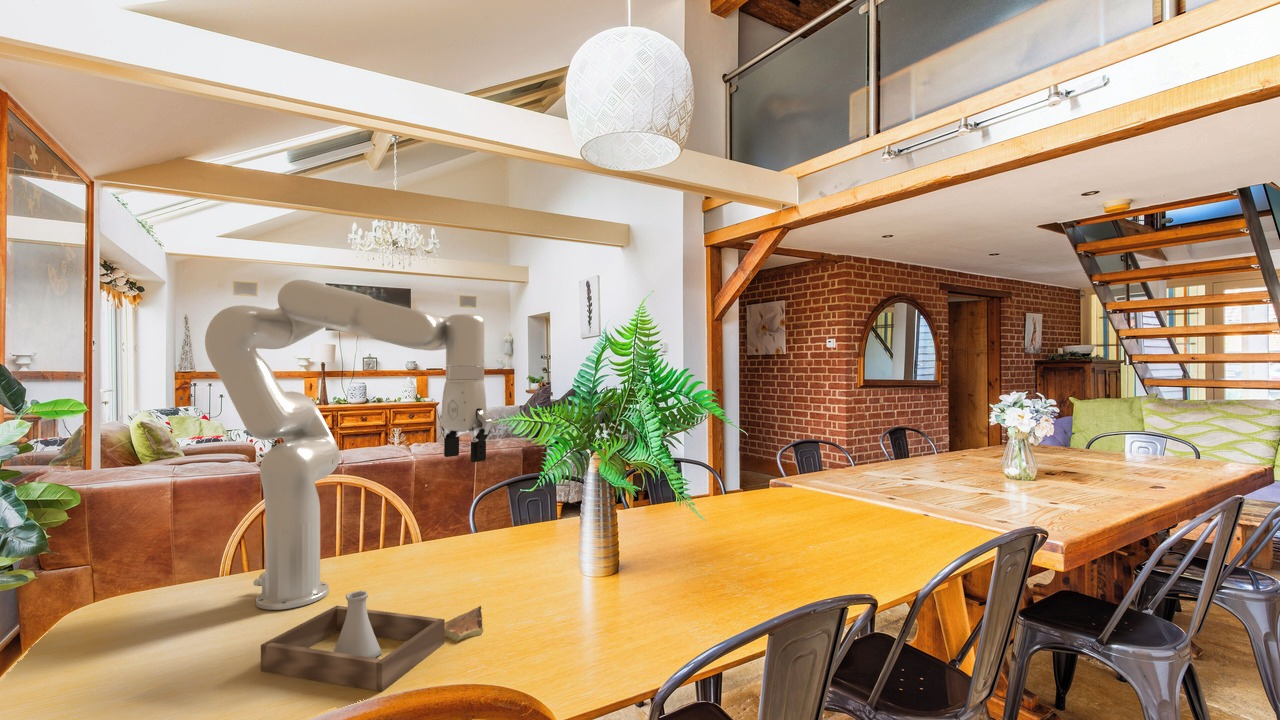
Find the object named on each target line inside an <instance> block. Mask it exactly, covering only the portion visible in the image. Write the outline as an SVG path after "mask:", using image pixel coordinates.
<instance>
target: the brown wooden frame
mask: <svg viewBox="0 0 1280 720" xmlns="http://www.w3.org/2000/svg"><path fill="white" fill-rule="evenodd" d="M347 609H348V606H343V605H335V606H333V607H331V608H329V609H328V610H325V611H324V612H322V613H320V614H318V615H316V616H314V617H312V618H310V619H307V620H306V621H304V622H302V623H300V624H298V625H296V626H294V627H292V628H290V629H288V630H287V631H285V632H283V633H281V634H279V635H277V636H275V637H273V638H271V639H269V640H267V641H265V642H263V643H261V644H260V672H263V673H269V674H276V675H280V676H281V675H282V676H286V677H294V678H300V679H305V680H310V681H311V680H312V681H315V682H317V681H318V682H322V683H329V684H335V685H341V686H347V687H352V688H353V687H354V688H358V689H363V690H370V691H375V692H376V691H377V692H381V693H382V692H384V691H385V690H386V689H388V688H389V687H390V686H391V685H393V684H394V683H396V682H397V681H398V680H399V679H400V678H402V677H403V676H404V675H406V674H407V673H408V672H410V671H411V670H412V669H413V668H415V667H416V666H418V665H419V664H420V663H421V662H422V661H424V660H425V659H426V658H428V657H429V656H430V655H431V654H433V653H434V652H435V651H436V650H438V649H439V648H440V647H442V646H443V645H444V644H445V642H446V641H445V640H446V639H445V638H446V637H445V623H446V621H445V619H444V618H437V617H431V616H430V617H429V616H424V615H423V616H422V615H414V614H406V613H399V612H398V613H397V612H390V611H389V612H388V611H384V610H383V611H382V610H377V609H376V610H375V609H367V614H368V618H369V621H370V624H371V626H372V629H373V632H374V635H375V637H376V638H381V639H389V640H395V641H396V640H397V641H403V643H402V644H401V645H399V646H398V647H397V648H395V649H394V650H392V651H390V652H389V653H388V654H386V655H385V656H384V657H382V658H378V657H376V658H370V657H363V656H357V655H350V654H344V653H337V652H333V651H329V650H322V649H316V648H310V647H312V646H314V645H315V644H317V643H319V642H321V641H322V640H323V641H324V639H326V638H328V637H330V636H331V635H333V634H335V633H337V632H340V633H341V631H342V628H343V625H344V622H345V619H346V614H347Z"/></svg>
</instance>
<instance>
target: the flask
mask: <svg viewBox="0 0 1280 720" xmlns="http://www.w3.org/2000/svg"><path fill="white" fill-rule="evenodd" d="M368 597H369V593H368V591H367V590H357V591H352V592H349V593H348V594H345V599H346V601H347V607H348V609H347V614H346V619H345V622H344V625H343V628H342V631H341V632H340V634H339V637H338V639H337V642H336V644H335V647H334V649H333V651H332V652H337V653H344V654H350V655H357V656H363V657H370V658H378V657H379V656H381V655H382V649H381V647H380V645H379V643H378V642H379V641H378V640H377V637H375V635H374V632H373V629H372V626H371V624H370V621H369V618H368V614H367V599H368Z"/></svg>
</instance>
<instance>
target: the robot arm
mask: <svg viewBox="0 0 1280 720" xmlns="http://www.w3.org/2000/svg"><path fill="white" fill-rule="evenodd" d="M277 303H278V307H276V308H275V309H271V308H266V307H260V306H254V305H246V304H245V305H242V304H241V305H240V304H239V305H232V306H228V307H226V308H223V309H222V310H220V311H218V312H217V313H216V314H215V315H214V316H213V317H212V319H211V320H210V322H209V323H208V326H207V328H206V331H205V335H204V336H205V337H204V346H205V352H206V355H207V357H208V360H209V361H210V363H211V365H212V368H213V369H214V370H215V372H216V373H217V374H216V375H218V378H219V379H220V380H221V382H222V384H223V386H224V387H225V389H226V392H227V395H228V396H229V398H230V400H231V402H232V404H233V406H234V408H235V410H236V413H237V414H238V416H239V417H240V420H241V422H242V424H243V425H244V428H245V429H246V431H247V432H248V434H249V435H250V436H252V437H253V438H255V439H257V440H261V441H271V440H276V439H282V441H283V442H280V443H279V444H276V445H275V446H273V447H271V448H270V449H269V450H267V451H266V454H264V456H263V458H262V460H261V462H260V467H259V475H260V481H261V485H262V486H261V487H262V492H263V498H264V511H265V512H264V516H265V517H264V518H265V525H264V526H265V535H264V536H265V537H264V538H265V542H264V543H265V544H264V545H265V548H264V549H265V550H264V551H265V553H264V554H265V556H264V557H265V560H264V561H265V565H264V566H265V568H264V569H265V572H261V573H260V574H259V577H258V578H255V579H254V581H253V585H254V587H261V593H259V594H258V595H257V596H256V598H255V605H256V607H257V608H259V609H262V610H266V611H267V610H269V611H277V610H278V611H279V610H287V609H294V608H300V607H303V606H307V605H309V604H312V603H315V602H317V601H319V600H321V599H323V598H325V596H327V595H328V593H329V592H330V586H329V585H330V584H328V583H327V582H324V581H321V505H320V504H321V503H320V497H319V493H318V491H317V487H316V482H317V481H320V480H322V479H325V478H327V477H328V476H330V475H331V474H332V473H333V472H334V471H335V470H336V469H337V468H338V466H339V463H340V458H341V456H340V450H339V447H338V444H337V442H336V440H335V438H334V436H333V434H332V432H331V430H330V428H329V427H328V424H327V422H326V421H325V419H324V417H323V414H322V413H321V411H320V409H319V408H318V406H317V404H316V403H315V402H314V401H313V399H311V398H310V397H309V396H307V395H306V394H304V393H302V392H298V391H284V390H283V388H282V387H281V385H280V384H279V382H278V380H277V378H276V376H275V373H274V372H273V370H272V368H271V367H270V366H269V364H267V362H266V361H265V360H264V359H263V358H262V357H261V355H259V353H258V351H257V349H262V350H279V349H284V348H287V347H290V346H292V345H294V344H296V343H298V342H300V341H302V340H303V339H305V338H307V337H309V336H311V335H313V334H316V332H319V331H320V330H322V329H324V328H327V329H330V330H334V331H338V332H341V333H346V334H350V335H354V336H357V337H365V338H369V339H373V340H376V341H379V342H384V343H387V344H392V345H396V346H400V347H403V348H408V349H412V350H418V351H419V350H421V351H429V352H431V351H441V350H445V383H444V387H443V391H442V401H441V414H440V415H439V420H440V424H441V427H440V428H441V430H442V437H443V438H444V439H443V441H444V442H443V457H445V458H450V457H458V456H459V455H460V436H458V434H459V433H461V432H462V433H466V432H468V434H469V435H470V437H471V440H472V441H470V462H471V463H477V462H478V463H479V462H486V460H487V441H488V440H489V435H490V434H491V433H490V432H491V428H492V424H493V420H492V419H491V418H490V417H489V416H488V415H487V398H486V388H485V383H484V382H485V320H484V319H483V317H482V316H480V315H476V314H467V313H466V314H465V313H461V314H459V313H457V314H452V315H449V316H442V315H437V314H433V313H431V312H426V311H422V310H419V309H418V310H417V309H414V308H409V307H405V306H401V305H397V304H394V303H391V302H386V301H383V300H378V299H375V298H373V297H372V296H370V295H367V294H364V293H360V292H356V291H352V290H348V289H344V288H340V287H336V286H332V285H328V284H324V283H322V282H321V283H320V282H317V281H312V280H309V279H308V280H307V279H293V280H291V281H289V282H287V283H285V284H284V285H282V287H281V288H280V289H279V291H278V294H277Z"/></svg>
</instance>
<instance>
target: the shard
mask: <svg viewBox="0 0 1280 720" xmlns="http://www.w3.org/2000/svg"><path fill="white" fill-rule="evenodd" d="M483 628H484V627H483V614H482V605H478V607H476V608H473V609H472V610H469V611H467V612H465V613H462V614H460V615H458V616H456V617H454V618H452V619H450V620H448V621H445V638H448V639H450V640H451V641H452V640H453V641H455V642H460V641H461V640H463V639H467V638H470V637H474V636H475V637H476V636H481V635H483V633H484V629H483Z"/></svg>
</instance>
